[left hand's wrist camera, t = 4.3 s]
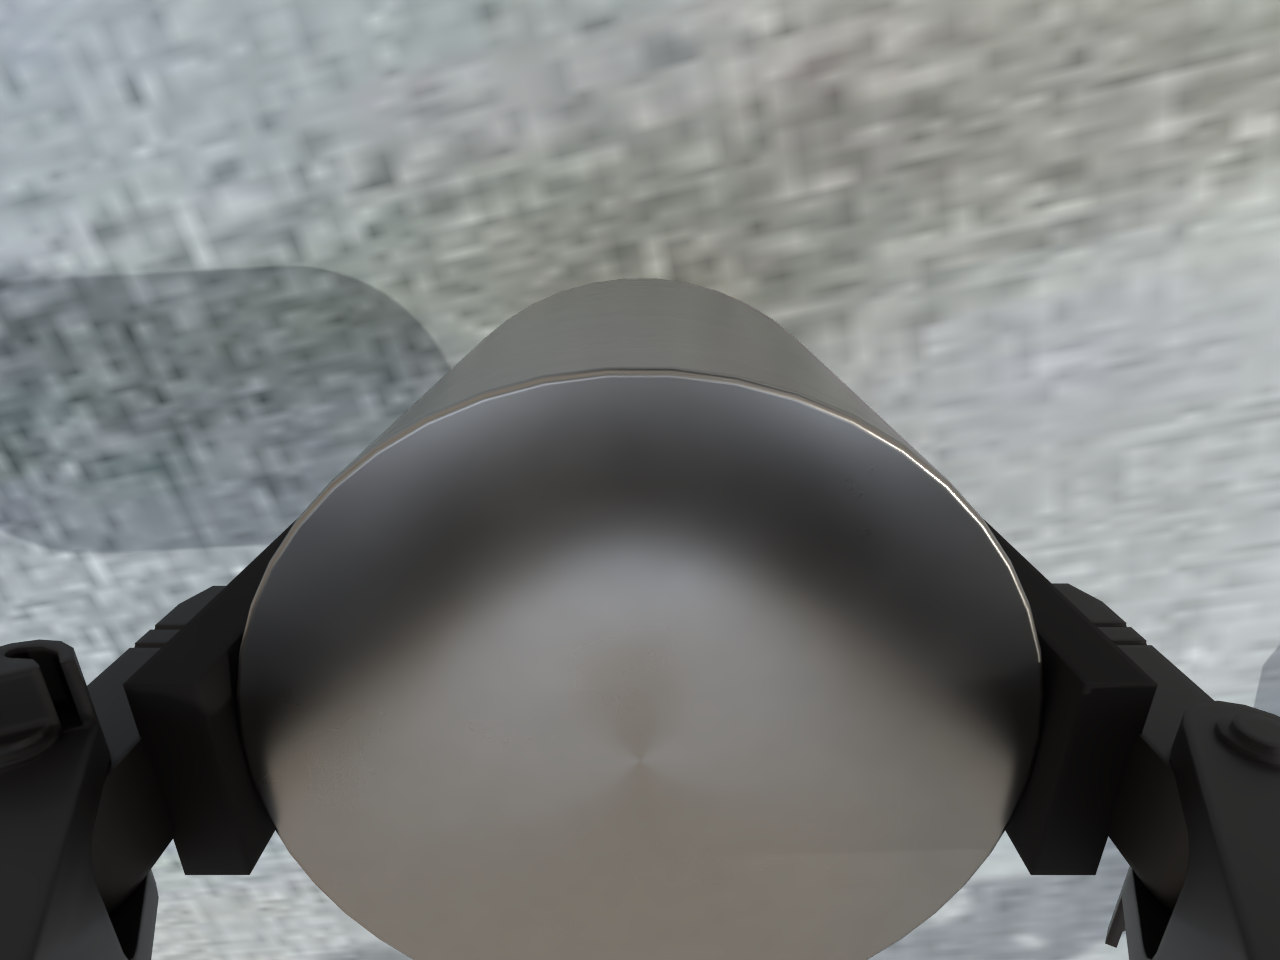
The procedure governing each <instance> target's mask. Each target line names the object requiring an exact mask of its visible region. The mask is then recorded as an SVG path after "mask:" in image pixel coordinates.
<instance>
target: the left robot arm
mask: <svg viewBox="0 0 1280 960" xmlns="http://www.w3.org/2000/svg"><path fill="white" fill-rule="evenodd" d="M984 521H985V520H984ZM985 522H986V521H985ZM294 523H295V521H294V522H293V523H292V524H291V525H290V526H289V527H288V528H287V529H286V530H285V531H284V532H283V533H282V534H281V535H280V536H279V537H278V538H277V539H275V540H274V541H273V542H272V543H271V544H270V545H269V546H268V547H267V548H266V549H265V550H264V551H263V552H262V553H261V554H260V555H259V556H258V557H256V558H255V559H254V560H253V561H252V562H251V563H250V564H249V565H248V566H247V567H246V568H245V569H244V570H243V571H242V572H241V573H240V574H239V575H237V576H236V577H235V578H234V579H233V580H232V581H231V582H230V583H229V584H228V585H227V586H212V587H210V588H208V589H206V590H205V591H203V592H201V593H199V594H197V595H195V596H193V597H191V598H190V599H188V600H186V601H184V602H182V603H180V604H179V605H178V606H176V607H175V608H174V609H173V610H172V611H171V612H170V613H169V614H167V615H166V616H165V617H164V618H163V619H162V620H161V621H160V622H158V623H157V624H156V625H155V630H149V631H148V632H147V633H146V634H145V635H144V636H143V637H142V638H140V639H139V640H138V641H137V642H136V643H135V648H129V649H128V650H127V651H126V652H125V653H124V654H122V655H121V656H120V657H119V658H118V659H117V660H116V661H115V662H113V663H112V664H111V665H110V666H109V667H108V668H107V669H106V670H104V671H103V672H102V673H101V674H100V675H99V676H98V677H97V678H95V679H94V680H93V681H92V682H91V683H90V684H89V685H88V686H87V685H86V682H85V680H84V677H83V674H82V671H81V668H80V665H79V663H78V660H77V657H76V654H75V651H74V648H72V647H71V646H69V645H67V644H65V643H63V642H62V641H52V640H33V641H25V642H18V643H11V644H7V645H4V646H0V960H151V956H152V947H153V939H154V931H155V923H156V914H157V906H158V898H159V897H158V892H157V886H156V882H155V879H154V876H153V873H152V870H151V868H152V867H153V865H154V864H155V863H156V861H157V860H158V858H159V857H160V856H161V854H162V853H163V852H164V850H165V849H166V847H167V846H168V845H169V843H170V842H171V841H172V839H174V842H175V845H176V848H177V852H178V855H179V858H180V861H181V864H182V867H183V870H184V873H185V875H250V873H251V871H252V870H253V868H254V866H255V864H256V863H257V861H258V859H259V858H260V856H261V854H262V852H263V851H264V849H265V847H266V845H267V844H268V842H269V840H270V838H271V837H272V835H273V833H274V831H275V828H274V827H273V825H272V823H271V822H270V820H269V819H268V817H267V814H266V812H265V810H264V808H263V805H262V803H261V801H260V798H259V796H258V794H257V791H256V789H255V787H254V785H253V782H252V780H251V777H250V773H249V769H248V765H247V761H246V758H245V754H244V750H243V746H242V742H241V738H240V728H239V718H238V708H237V698H236V695H237V681H238V666H239V652H240V647H241V643H242V639H243V635H244V631H245V626H246V622H247V618H248V614H249V610H250V606H251V603H252V601H253V599H254V596H255V594H256V592H257V589H258V587H259V585H260V582H261V580H262V578H263V576H264V573H265V571H266V569H267V566H268V564H269V562H270V560H271V559H272V557H273V555H274V554H275V552H276V551H277V549H278V548H279V546H280V545H281V543H282V542H283V540H284V538H285V537H286V535H287V534H288V532H289V531H290V529H291V528H292V526H293V525H294ZM986 524H987V525H988V527H989V529H990V530H991V532H992V533H993V535H994V536H995V538H996V539H997V541H998V542H999V544H1000V545H1001V547H1002V549H1003V550H1004V552H1005V553H1006V555H1007V556H1008V558H1009V559H1010V561H1011V563H1012V565H1013V568H1014V570H1015V572H1016V574H1017V577H1018V579H1019V581H1020V584H1021V586H1022V588H1023V591H1024V593H1025V595H1026V597H1027V600H1028V602H1029V604H1030V608H1031V612H1032V616H1033V620H1034V624H1035V628H1036V632H1037V637H1038V641H1039V645H1040V649H1041V659H1042V673H1043V687H1044V703H1043V714H1042V724H1041V734H1040V741H1039V745H1038V748H1037V752H1036V756H1035V760H1034V764H1033V768H1032V771H1031V775H1030V779H1029V781H1028V784H1027V786H1026V788H1025V791H1024V793H1023V795H1022V798H1021V800H1020V802H1019V804H1018V807H1017V809H1016V811H1015V814H1014V816H1013V818H1012V820H1011V821H1010V823H1009V824H1008V826H1007V828H1006V829H1005V831H1006V832H1007V834H1008V836H1009V838H1010V839H1011V841H1012V843H1013V844H1014V846H1015V848H1016V850H1017V851H1018V853H1019V855H1020V857H1021V858H1022V860H1023V862H1024V864H1025V865H1026V867H1027V869H1028V871H1029V872H1030V874H1031V875H1096V872H1097V868H1098V865H1099V862H1100V859H1101V856H1102V853H1103V850H1104V847H1105V844H1106V841H1107V838H1108V836H1109V837H1110V839H1111V840H1112V842H1113V843H1114V844H1115V846H1116V847H1117V848H1118V850H1119V851H1120V853H1121V854H1122V855H1123V857H1124V858H1125V859H1126V861H1127V862H1128V863H1129V865H1130V868H1129V870H1128V873H1127V876H1126V879H1125V882H1124V885H1123V887H1122V890H1121V893H1120V896H1119V899H1118V902H1117V905H1116V907H1115V910H1114V913H1113V916H1112V919H1111V922H1110V924H1109V927H1108V932H1107V937H1106V942H1105V943H1106V944H1108V945H1111V946H1113V947H1116V948H1117V945H1118V942H1119V939H1120V937H1121V934H1122V932H1123V931H1125V930H1126V936H1127V945H1128V953H1129V960H1280V717H1278V716H1276V715H1274V714H1271V713H1268V712H1265V711H1262V710H1259V709H1256V708H1253V707H1249V706H1246V705H1242V704H1235V703H1229V702H1222V701H1214V700H1213V699H1212V698H1211V697H1210V696H1208V695H1207V694H1206V693H1205V692H1204V691H1203V690H1202V689H1200V688H1199V687H1198V686H1197V685H1196V684H1195V683H1194V682H1193V681H1191V680H1190V679H1189V678H1188V677H1187V676H1186V675H1185V674H1183V673H1182V672H1181V671H1180V670H1179V669H1178V668H1177V667H1176V666H1174V665H1173V664H1172V663H1171V662H1170V661H1169V660H1168V659H1166V658H1165V657H1164V656H1163V655H1162V654H1161V653H1160V652H1159V651H1157V650H1156V649H1155V648H1154V647H1153V646H1152V645H1147V644H1146V640H1145V639H1144V638H1143V637H1142V636H1140V635H1139V634H1138V633H1137V632H1136V631H1135V630H1134V629H1133V628H1131V627H1127V626H1126V622H1125V621H1123V620H1122V619H1121V618H1120V617H1119V616H1118V615H1117V614H1116V613H1114V612H1113V611H1112V610H1111V609H1110V608H1109V607H1108V606H1106V605H1105V604H1104V603H1103V602H1102V601H1100V600H1098V599H1096V598H1094V597H1092V596H1090V595H1089V594H1087V593H1085V592H1083V591H1081V590H1079V589H1077V588H1075V587H1073V586H1072V585H1070V584H1051V583H1050V582H1049V581H1048V580H1047V579H1046V578H1045V577H1044V576H1043V575H1042V574H1041V573H1040V572H1039V571H1038V570H1037V569H1036V568H1035V567H1034V566H1032V565H1031V564H1030V563H1029V562H1028V561H1027V560H1026V559H1025V558H1024V557H1023V556H1022V555H1021V554H1020V553H1019V552H1018V551H1017V550H1016V549H1015V548H1013V547H1012V546H1011V545H1010V544H1009V543H1008V542H1007V541H1006V540H1005V539H1004V538H1003V537H1002V536H1001V535H1000V534H999V533H998V532H997V531H996V530H994V529H993V528H992V527H991V526H990V525H989V524H988V523H987V522H986Z"/></svg>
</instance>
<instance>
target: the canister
mask: <svg viewBox="0 0 1280 960" xmlns="http://www.w3.org/2000/svg"><path fill="white" fill-rule="evenodd" d="M236 698H237V708H238V718H239V728H240V738H241V742H242V746H243V750H244V754H245V758H246V761H247V765H248V769H249V773H250V777H251V780H252V782H253V785H254V787H255V789H256V791H257V794H258V796H259V798H260V801H261V803H262V805H263V808H264V810H265V812H266V814H267V817H268V819H269V820H270V822H271V823H272V825H273V827H274V828H275V830H276V832H277V833H278V835H279V836H280V838H281V840H282V841H283V843H284V845H285V846H286V848H287V849H288V851H289V853H290V854H291V855H292V856H293V858H294V859H295V860H296V861H297V862H298V864H299V865H300V866H301V867H302V869H303V870H304V871H305V872H306V873H307V875H308V876H309V877H310V878H311V880H312V881H313V882H314V883H315V884H316V885H317V886H318V887H319V888H320V889H321V890H322V891H323V892H324V893H325V894H326V895H327V896H328V897H329V898H330V899H331V900H332V901H333V902H334V903H335V904H336V905H337V906H338V907H339V908H341V909H342V910H343V911H344V912H345V913H346V914H347V915H348V916H350V917H351V918H352V919H354V920H355V921H356V922H358V923H359V924H360V925H362V926H363V927H364V928H365V929H367V930H368V931H369V932H371V933H372V934H373V935H375V936H376V937H377V938H379V939H380V940H382V941H383V942H385V943H387V944H388V945H390V946H392V947H393V948H395V949H397V950H398V951H400V952H402V953H403V954H405V955H407V956H408V957H410V958H412V959H413V960H868V959H869V958H871V957H872V956H874V955H876V954H877V953H879V952H881V951H882V950H884V949H886V948H887V947H889V946H891V945H892V944H894V943H896V942H897V941H899V940H901V939H902V938H903V937H905V936H906V935H907V934H909V933H910V932H911V931H913V930H914V929H915V928H917V927H918V926H919V925H921V924H922V923H923V922H924V921H926V920H927V919H928V918H930V917H931V916H932V915H934V914H935V913H936V912H937V911H938V910H939V909H940V908H941V907H942V906H943V905H944V904H945V903H946V902H948V901H949V900H950V899H951V898H952V897H953V896H954V895H955V894H956V893H957V892H958V891H959V890H960V889H961V888H962V887H963V886H964V885H965V884H966V883H967V882H968V880H969V879H970V878H971V877H972V876H973V874H974V873H975V872H976V871H977V869H978V868H979V867H980V866H981V864H982V863H983V862H984V861H985V860H986V858H987V857H988V856H989V855H990V853H991V852H992V851H993V849H994V847H995V846H996V844H997V842H998V841H999V839H1000V837H1001V836H1002V834H1003V833H1004V831H1005V829H1006V828H1007V826H1008V824H1009V823H1010V821H1011V820H1012V818H1013V816H1014V814H1015V811H1016V809H1017V807H1018V804H1019V802H1020V800H1021V798H1022V795H1023V793H1024V791H1025V788H1026V786H1027V784H1028V781H1029V779H1030V775H1031V771H1032V768H1033V764H1034V760H1035V756H1036V752H1037V748H1038V745H1039V741H1040V734H1041V724H1042V714H1043V703H1044V687H1043V673H1042V659H1041V649H1040V645H1039V641H1038V637H1037V632H1036V628H1035V624H1034V620H1033V616H1032V612H1031V608H1030V604H1029V602H1028V600H1027V597H1026V595H1025V593H1024V591H1023V588H1022V586H1021V584H1020V581H1019V579H1018V577H1017V574H1016V572H1015V570H1014V568H1013V565H1012V563H1011V561H1010V559H1009V558H1008V556H1007V555H1006V553H1005V552H1004V550H1003V549H1002V547H1001V545H1000V544H999V542H998V541H997V539H996V538H995V536H994V535H993V533H992V532H991V530H990V529H989V527H988V525H987V524H986V522H985V521H984V519H983V518H982V517H981V516H980V515H979V514H978V513H977V512H976V510H975V509H974V508H973V507H972V506H971V505H970V504H969V503H968V502H967V501H966V499H965V498H964V497H963V496H962V495H961V494H960V493H959V492H958V491H957V489H956V488H955V487H954V486H953V485H952V484H951V483H950V482H949V481H948V480H947V479H946V478H945V477H944V476H943V475H942V474H941V473H940V472H939V471H938V470H937V469H936V468H934V467H933V466H932V465H931V464H930V463H929V462H928V461H927V460H926V459H925V458H924V457H923V456H922V455H921V454H919V453H918V452H917V451H916V450H915V449H914V448H913V447H912V446H911V445H910V444H909V443H908V442H907V441H906V440H904V439H903V438H902V437H901V436H900V435H899V434H898V433H897V432H896V431H895V430H894V429H893V428H892V427H890V426H889V425H888V424H887V423H886V422H885V421H884V420H883V419H882V418H881V417H880V416H879V415H878V414H877V413H875V412H874V411H873V410H872V409H871V408H870V407H869V406H868V405H867V404H866V403H865V402H864V401H863V400H862V399H860V398H859V397H858V396H857V395H856V394H855V393H854V392H853V391H852V390H851V389H850V388H849V387H848V386H846V385H845V384H844V383H843V382H842V381H841V380H840V379H839V378H838V377H837V376H836V375H835V374H834V373H833V372H831V371H830V370H829V369H828V368H827V367H826V366H825V365H824V364H823V363H822V362H821V361H820V360H819V359H818V358H816V357H815V356H814V355H813V354H812V353H811V352H810V351H809V350H808V349H807V348H806V347H805V346H804V345H802V344H801V343H800V342H799V341H798V340H797V339H796V338H795V337H794V336H792V335H791V334H790V333H789V332H787V331H786V330H785V329H784V328H783V327H781V326H780V325H779V324H778V323H776V322H775V321H774V320H773V319H771V318H769V317H768V316H766V315H764V314H763V313H761V312H760V311H758V310H756V309H755V308H753V307H751V306H750V305H748V304H746V303H744V302H742V301H739V300H737V299H735V298H732V297H730V296H728V295H725V294H723V293H721V292H718V291H715V290H711V289H708V288H704V287H700V286H697V285H693V284H690V283H684V282H677V281H670V280H662V279H618V280H611V281H604V282H596V283H591V284H587V285H584V286H580V287H576V288H573V289H569V290H566V291H562V292H560V293H557V294H555V295H553V296H551V297H548V298H546V299H544V300H541V301H539V302H537V303H534V304H532V305H531V306H529V307H528V308H526V309H524V310H523V311H521V312H519V313H518V314H516V315H514V316H513V317H511V318H510V319H508V320H507V321H505V322H504V323H503V324H502V325H500V326H499V327H498V328H497V329H496V330H494V331H493V332H492V333H491V334H489V335H488V336H487V337H486V338H485V339H483V340H482V341H481V342H480V343H479V344H478V345H477V346H476V347H475V348H474V349H473V350H472V351H471V352H469V353H468V354H467V355H466V356H465V357H464V358H463V359H462V360H461V361H460V362H459V363H458V364H457V365H456V366H454V367H453V368H452V369H451V370H450V371H449V372H448V373H447V374H446V375H445V376H444V377H443V378H442V379H440V380H439V381H438V382H437V383H436V384H435V385H434V386H433V387H432V388H431V389H430V390H429V391H428V392H427V393H425V394H424V395H423V396H422V397H421V398H420V399H419V400H418V401H417V402H416V403H415V404H414V405H413V406H411V407H410V408H409V409H408V410H407V411H406V412H405V413H404V414H403V415H402V416H401V417H400V418H399V419H398V420H396V421H395V422H394V423H393V424H392V425H391V426H390V427H389V428H388V429H387V430H386V431H385V432H384V433H382V434H381V435H380V436H379V437H378V438H377V439H376V440H375V441H374V442H373V443H372V444H371V445H370V446H369V447H367V448H366V449H365V450H364V451H363V452H362V453H361V454H360V455H359V456H358V457H357V458H356V459H355V460H353V461H352V462H351V463H350V464H349V465H348V466H347V467H346V468H345V469H344V470H343V471H342V472H341V473H340V474H338V475H337V476H336V477H335V478H334V479H333V480H332V481H331V482H330V483H329V484H328V485H327V487H326V488H325V489H324V490H323V491H322V492H321V493H320V494H319V495H318V497H317V498H316V499H315V500H314V501H313V502H312V503H311V504H310V505H309V507H308V508H307V509H306V510H305V511H304V512H303V513H302V514H301V515H300V517H299V518H298V519H297V520H296V521H295V523H294V525H293V526H292V528H291V529H290V531H289V532H288V534H287V535H286V537H285V538H284V540H283V542H282V543H281V545H280V546H279V548H278V549H277V551H276V552H275V554H274V555H273V557H272V559H271V560H270V562H269V564H268V566H267V569H266V571H265V573H264V576H263V578H262V580H261V582H260V585H259V587H258V589H257V592H256V594H255V596H254V599H253V601H252V603H251V606H250V610H249V614H248V618H247V622H246V626H245V631H244V635H243V639H242V643H241V647H240V652H239V666H238V681H237V695H236Z"/></svg>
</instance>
